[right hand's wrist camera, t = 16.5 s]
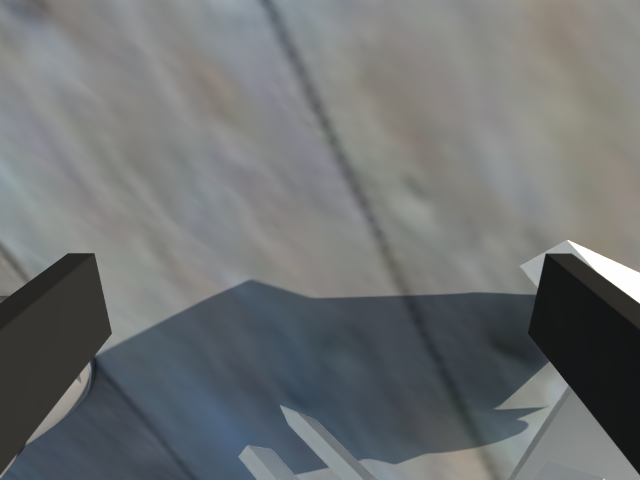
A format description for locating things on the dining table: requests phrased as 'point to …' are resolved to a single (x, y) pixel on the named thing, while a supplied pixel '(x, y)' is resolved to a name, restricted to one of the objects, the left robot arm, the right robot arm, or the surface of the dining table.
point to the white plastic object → (545, 449)
